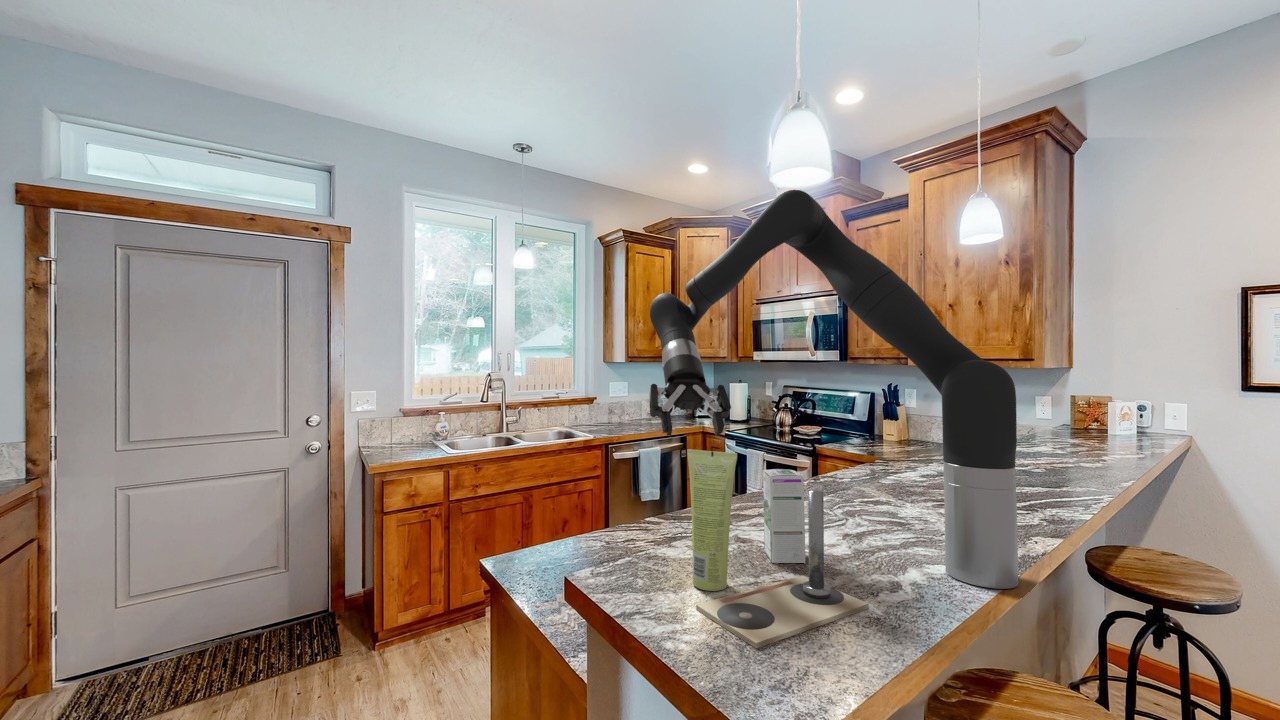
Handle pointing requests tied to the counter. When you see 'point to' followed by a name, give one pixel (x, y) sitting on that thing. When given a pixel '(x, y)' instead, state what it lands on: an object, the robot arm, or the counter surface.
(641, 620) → the counter surface
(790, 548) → the syrup box
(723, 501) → the tube
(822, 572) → the fixed peg
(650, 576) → the counter surface
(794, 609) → the board
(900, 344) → the robot arm
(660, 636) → the counter surface
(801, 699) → the counter surface
